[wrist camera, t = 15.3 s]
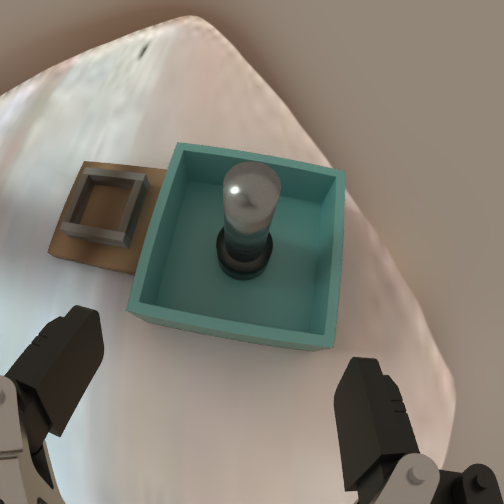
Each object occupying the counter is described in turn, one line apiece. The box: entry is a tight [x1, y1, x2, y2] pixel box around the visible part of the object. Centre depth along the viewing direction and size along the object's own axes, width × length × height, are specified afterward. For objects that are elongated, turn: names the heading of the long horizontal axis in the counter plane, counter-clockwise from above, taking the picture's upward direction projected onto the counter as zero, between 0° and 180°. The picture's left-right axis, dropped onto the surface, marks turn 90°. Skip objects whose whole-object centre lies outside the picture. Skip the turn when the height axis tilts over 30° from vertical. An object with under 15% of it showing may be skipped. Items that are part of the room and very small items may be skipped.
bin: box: [126, 142, 345, 351], centre depth 27 cm, size 15×15×6 cm
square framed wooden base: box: [48, 161, 167, 275], centre depth 29 cm, size 11×11×3 cm
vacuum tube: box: [216, 161, 281, 281], centre depth 23 cm, size 5×5×12 cm
